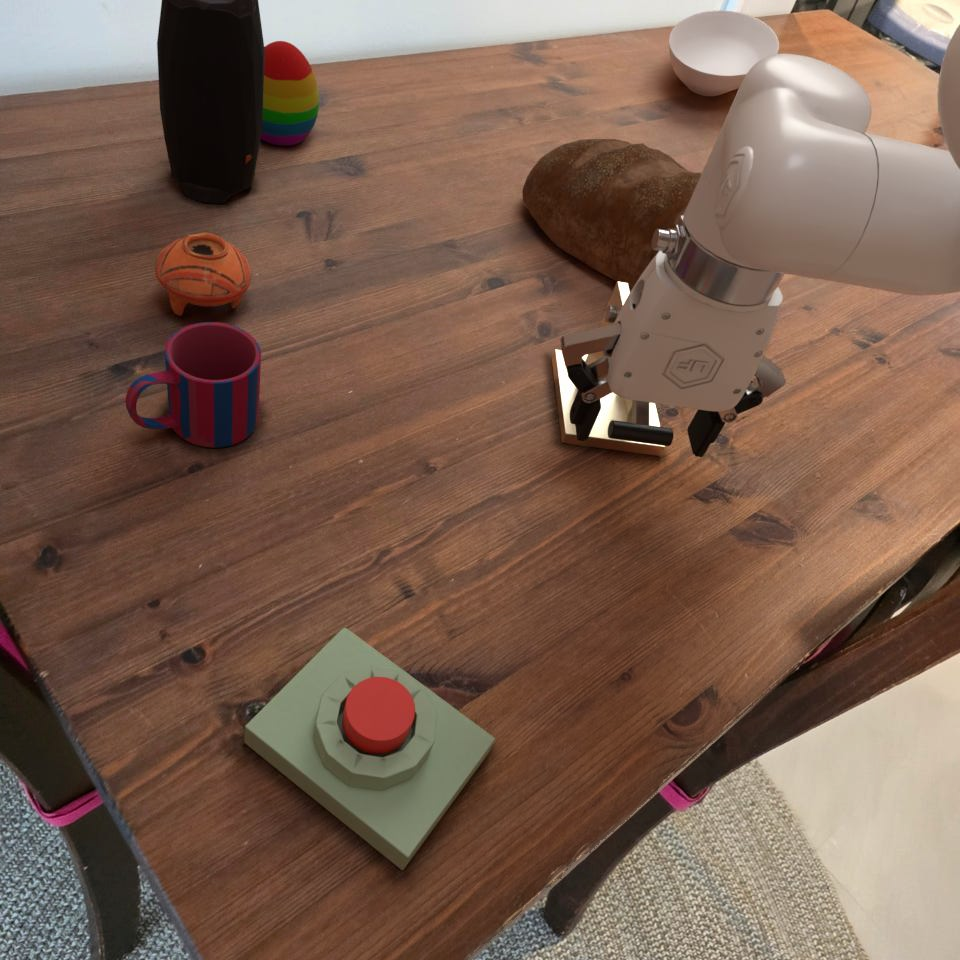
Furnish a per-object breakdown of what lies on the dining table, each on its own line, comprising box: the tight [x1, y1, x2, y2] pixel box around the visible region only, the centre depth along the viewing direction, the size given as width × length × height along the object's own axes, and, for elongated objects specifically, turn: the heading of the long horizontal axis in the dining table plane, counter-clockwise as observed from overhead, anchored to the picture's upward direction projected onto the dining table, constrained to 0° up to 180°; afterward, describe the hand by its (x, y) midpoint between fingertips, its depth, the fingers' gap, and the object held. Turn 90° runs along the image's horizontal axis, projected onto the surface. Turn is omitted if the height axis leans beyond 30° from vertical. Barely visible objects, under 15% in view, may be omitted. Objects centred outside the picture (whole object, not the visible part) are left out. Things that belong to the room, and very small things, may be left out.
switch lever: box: [608, 400, 674, 447], centre depth 72 cm, size 12×5×2 cm, turn 1°
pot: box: [154, 232, 252, 316], centre depth 76 cm, size 8×8×7 cm
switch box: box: [243, 626, 496, 871], centre depth 53 cm, size 12×9×4 cm
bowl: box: [668, 10, 780, 97], centre depth 134 cm, size 30×15×6 cm, turn 150°
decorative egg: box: [261, 40, 320, 147], centre depth 96 cm, size 8×8×10 cm
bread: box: [522, 138, 702, 291], centre depth 94 cm, size 16×29×11 cm, turn 55°
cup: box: [125, 321, 262, 449], centre depth 66 cm, size 7×10×7 cm
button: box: [342, 677, 415, 754], centre depth 51 cm, size 4×4×2 cm
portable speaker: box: [156, 0, 265, 204], centre depth 83 cm, size 9×9×20 cm
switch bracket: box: [551, 281, 666, 457], centre depth 76 cm, size 11×9×12 cm
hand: (637, 436), depth 71 cm, fingers open, 9 cm apart
